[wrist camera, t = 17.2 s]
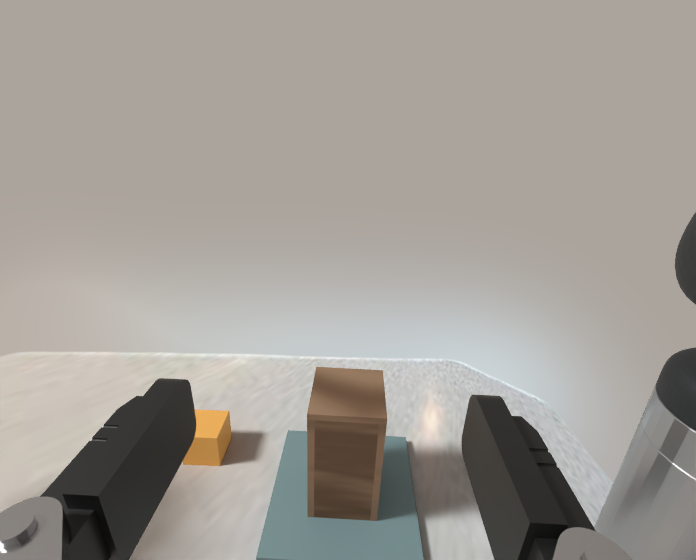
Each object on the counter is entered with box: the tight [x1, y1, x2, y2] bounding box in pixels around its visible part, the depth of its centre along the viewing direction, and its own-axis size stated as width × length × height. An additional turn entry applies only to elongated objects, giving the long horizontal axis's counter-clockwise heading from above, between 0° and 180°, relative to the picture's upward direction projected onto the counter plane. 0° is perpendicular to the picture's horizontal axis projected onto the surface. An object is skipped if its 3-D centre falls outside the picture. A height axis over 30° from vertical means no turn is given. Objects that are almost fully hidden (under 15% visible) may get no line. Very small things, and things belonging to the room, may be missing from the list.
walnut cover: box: [307, 367, 387, 521], centre depth 34 cm, size 6×6×12 cm
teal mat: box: [256, 430, 424, 560], centre depth 37 cm, size 14×14×1 cm
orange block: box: [183, 410, 232, 466], centre depth 40 cm, size 4×4×4 cm
